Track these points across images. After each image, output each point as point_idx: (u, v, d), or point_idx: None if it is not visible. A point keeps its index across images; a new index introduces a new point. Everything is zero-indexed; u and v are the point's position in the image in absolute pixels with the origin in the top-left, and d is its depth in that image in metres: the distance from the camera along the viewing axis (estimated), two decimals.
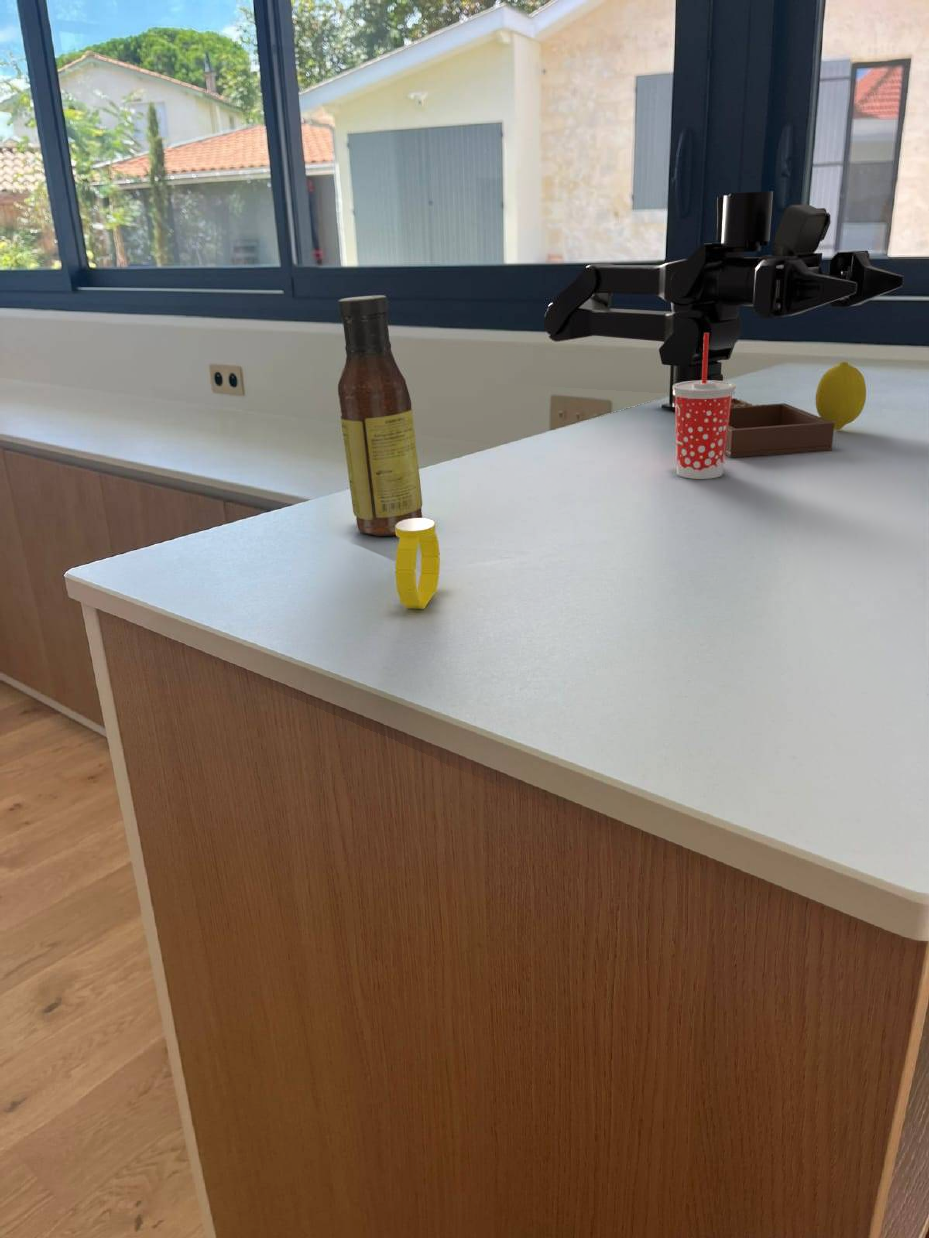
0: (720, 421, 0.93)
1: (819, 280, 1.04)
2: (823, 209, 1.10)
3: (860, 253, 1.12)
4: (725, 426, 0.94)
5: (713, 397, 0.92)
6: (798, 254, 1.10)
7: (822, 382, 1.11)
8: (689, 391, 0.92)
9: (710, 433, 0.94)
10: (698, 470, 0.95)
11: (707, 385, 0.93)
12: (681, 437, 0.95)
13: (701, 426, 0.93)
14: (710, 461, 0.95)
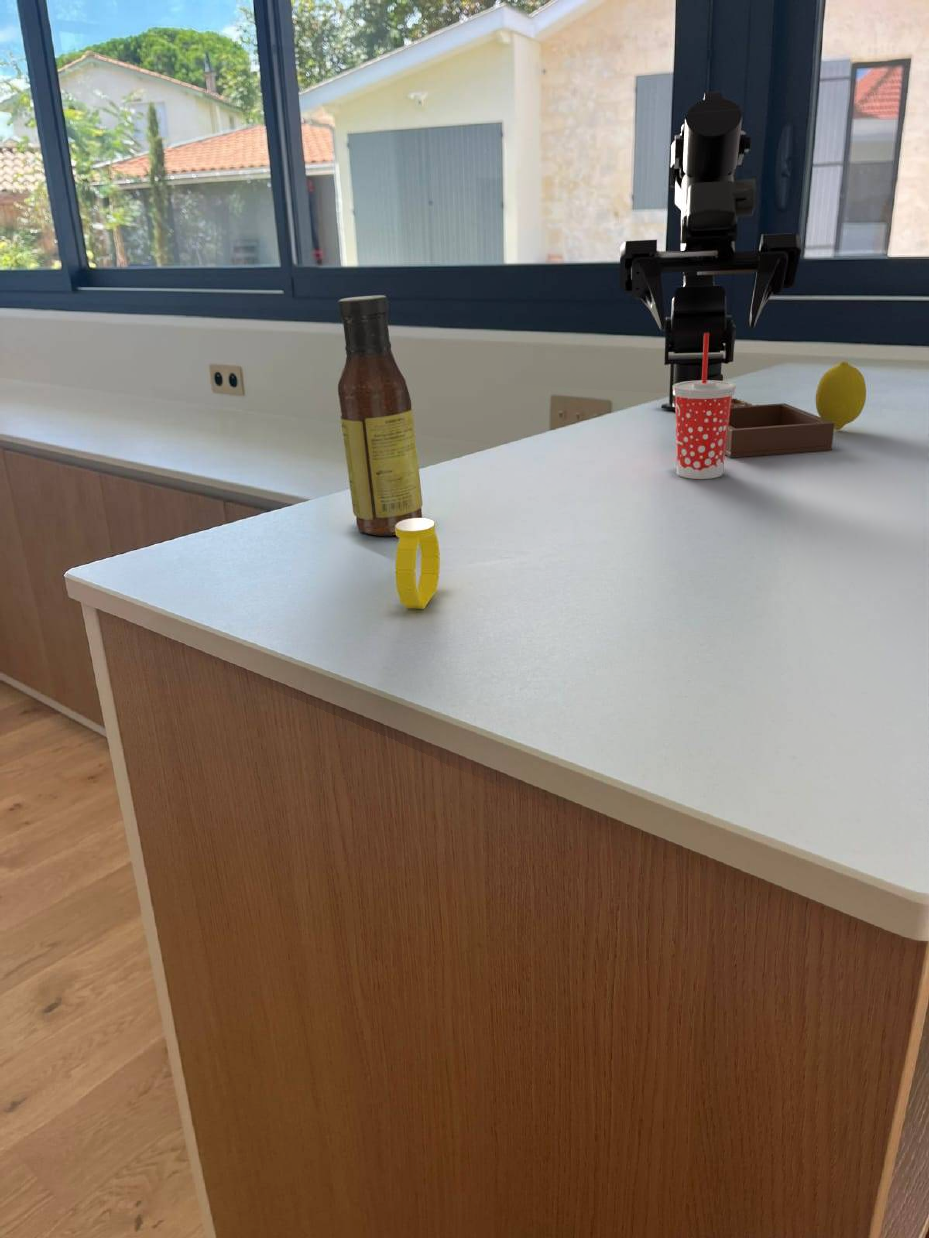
0: (720, 421, 0.93)
1: (651, 295, 1.01)
2: (743, 194, 0.96)
3: (772, 253, 0.98)
4: (725, 426, 0.94)
5: (713, 397, 0.92)
6: (700, 230, 1.01)
7: (822, 382, 1.11)
8: (689, 391, 0.92)
9: (710, 433, 0.94)
10: (698, 470, 0.95)
11: (707, 385, 0.93)
12: (681, 437, 0.95)
13: (701, 426, 0.93)
14: (710, 461, 0.95)
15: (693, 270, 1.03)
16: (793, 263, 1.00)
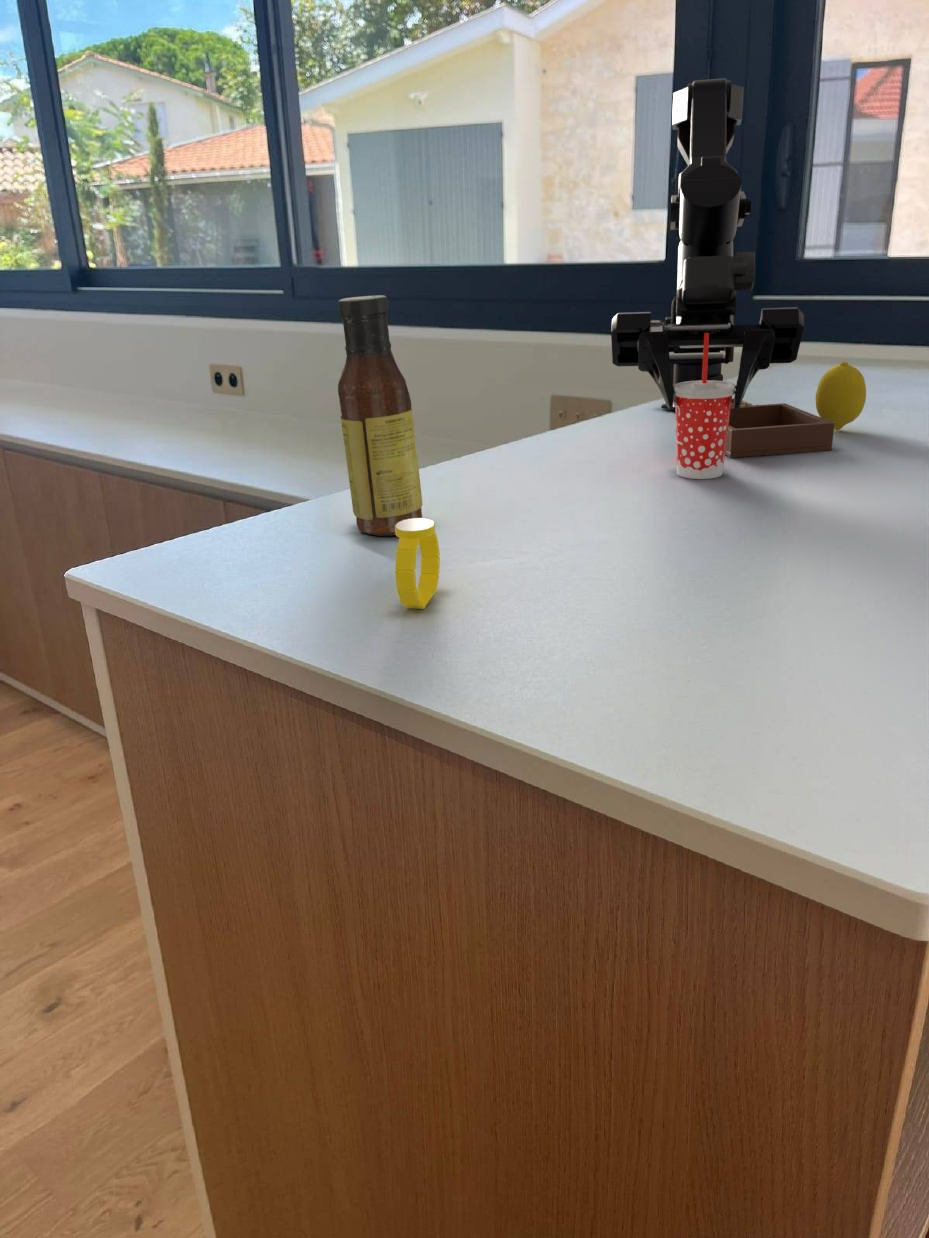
0: (720, 421, 0.93)
1: (659, 371, 0.95)
2: (742, 269, 0.90)
3: (757, 331, 0.93)
4: (725, 426, 0.94)
5: (713, 397, 0.92)
6: (696, 303, 0.95)
7: (822, 382, 1.11)
8: (689, 391, 0.92)
9: (710, 434, 0.94)
10: (698, 470, 0.95)
11: (707, 385, 0.93)
12: (681, 437, 0.95)
13: (701, 426, 0.93)
14: (710, 461, 0.95)
15: (689, 344, 0.97)
16: (796, 339, 0.94)
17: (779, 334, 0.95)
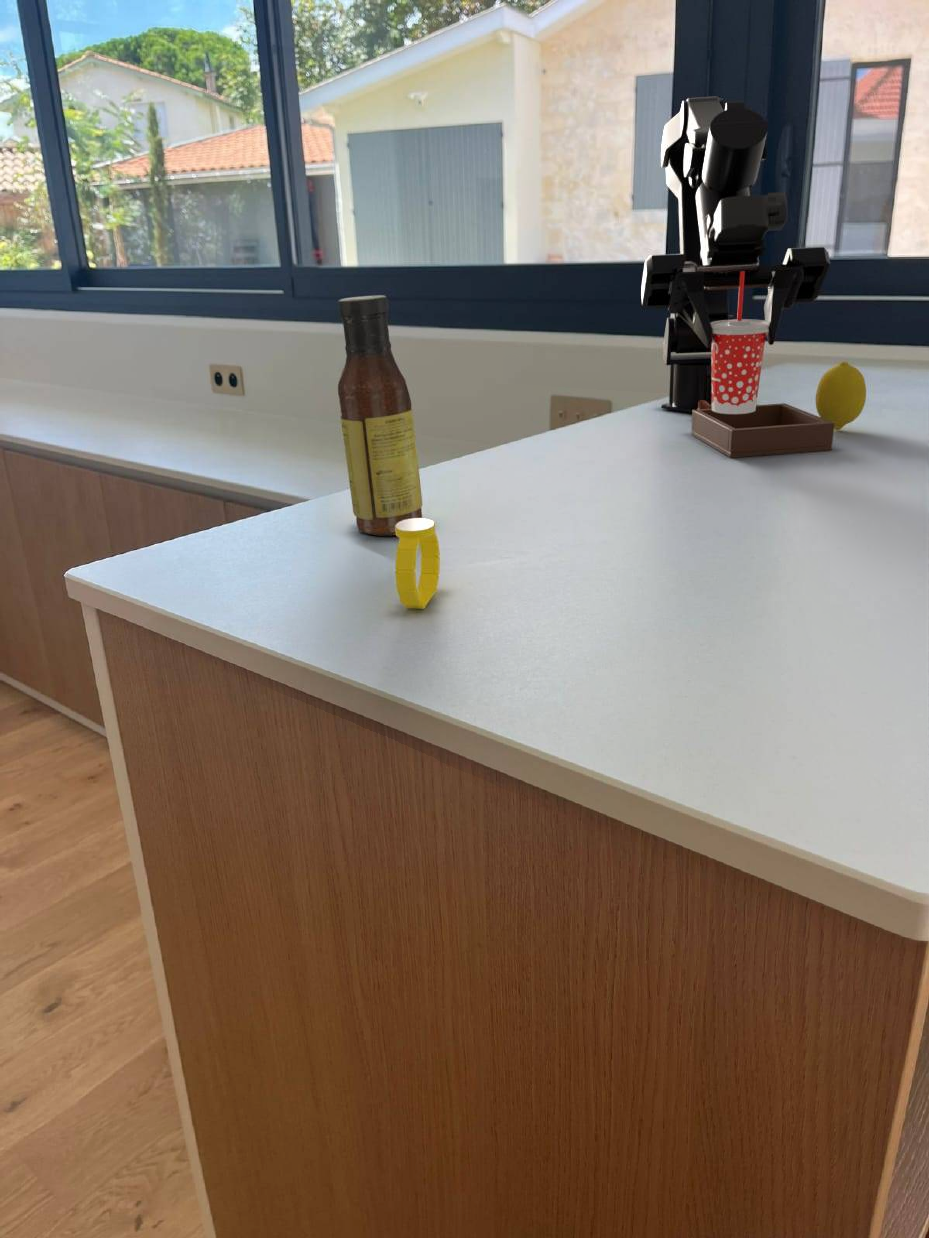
0: (757, 356, 0.97)
1: (695, 311, 0.98)
2: (776, 208, 0.94)
3: (788, 269, 0.97)
4: (761, 362, 0.98)
5: (753, 333, 0.96)
6: (727, 244, 0.98)
7: (822, 382, 1.11)
8: (729, 328, 0.96)
9: (748, 369, 0.97)
10: (736, 406, 0.99)
11: (744, 322, 0.97)
12: (719, 374, 0.99)
13: (740, 362, 0.97)
14: (747, 396, 0.99)
15: (718, 285, 1.01)
16: (820, 277, 0.99)
17: (804, 273, 0.99)
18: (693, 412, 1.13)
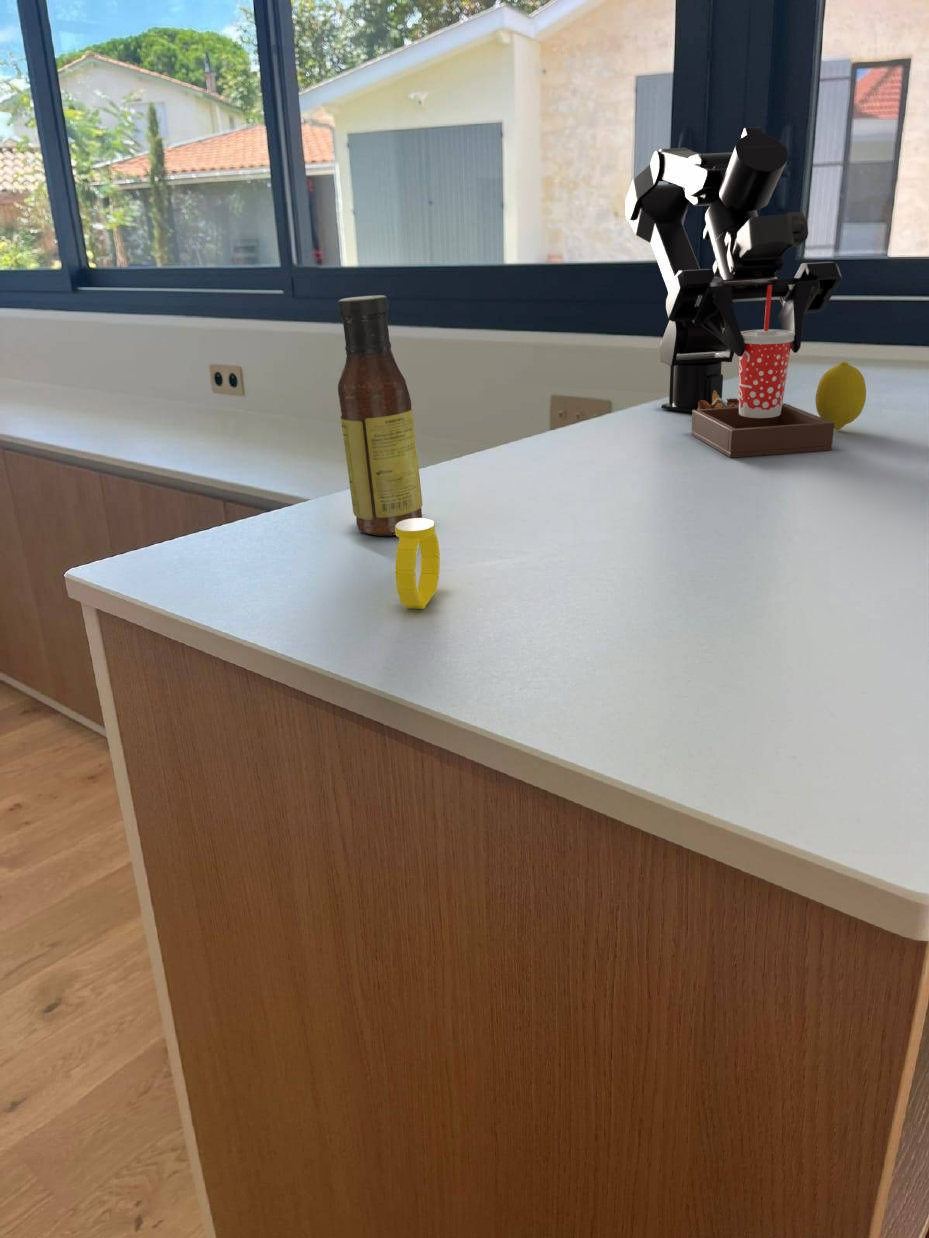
0: (785, 364, 1.05)
1: (725, 322, 1.05)
2: (800, 227, 1.01)
3: (807, 282, 1.05)
4: (787, 368, 1.05)
5: (783, 342, 1.03)
6: (749, 260, 1.05)
7: (822, 382, 1.11)
8: (762, 337, 1.02)
9: (778, 375, 1.04)
10: (766, 410, 1.06)
11: (772, 332, 1.04)
12: (750, 380, 1.05)
13: (771, 369, 1.04)
14: (776, 400, 1.06)
15: (740, 298, 1.07)
16: (831, 290, 1.07)
17: None
18: (693, 412, 1.13)
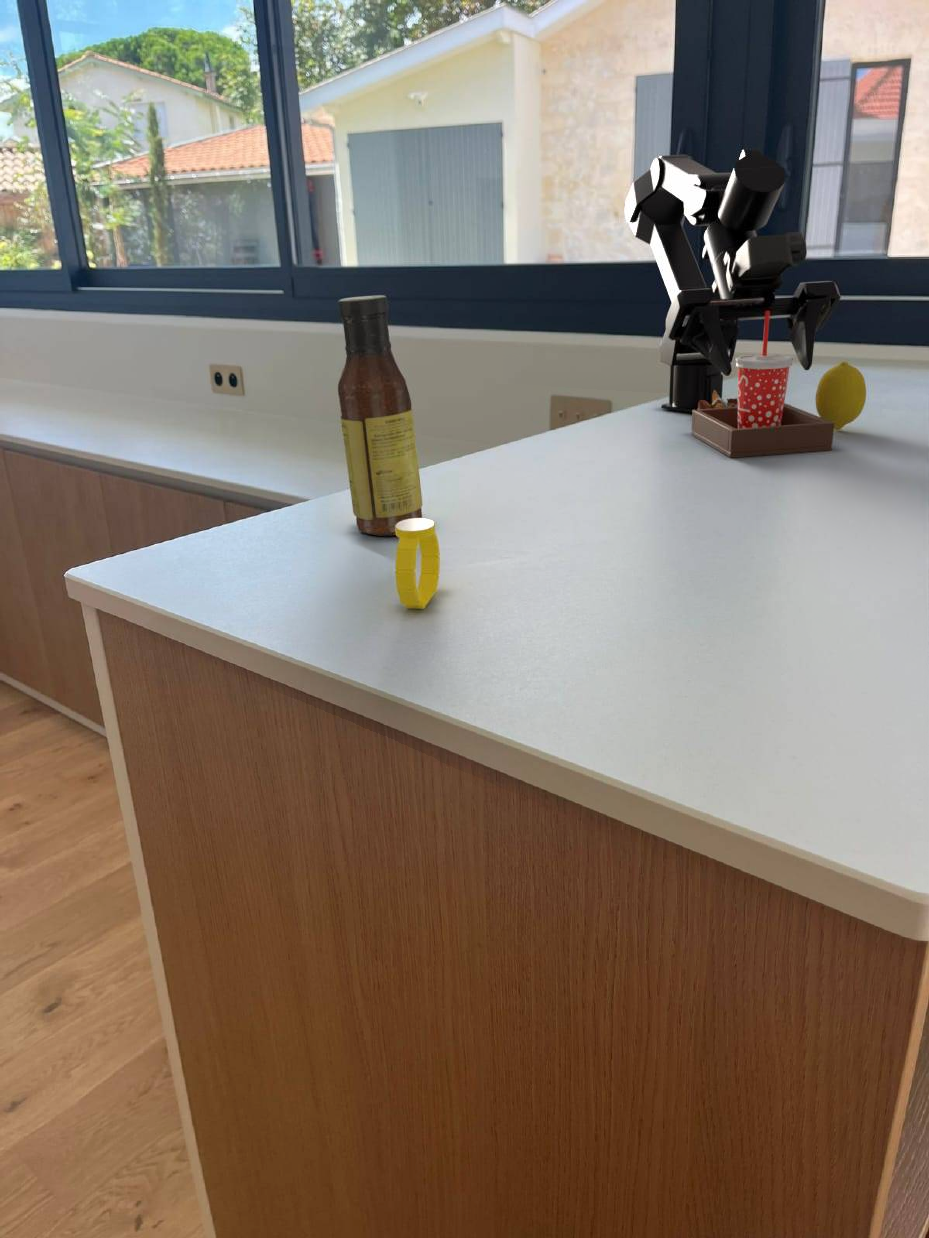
0: (783, 388, 1.06)
1: (712, 342, 1.05)
2: (798, 247, 1.02)
3: (818, 301, 1.05)
4: (785, 393, 1.07)
5: (781, 367, 1.04)
6: (749, 279, 1.06)
7: (822, 382, 1.11)
8: (761, 362, 1.03)
9: (776, 400, 1.06)
10: None
11: (770, 357, 1.05)
12: (749, 405, 1.06)
13: (770, 394, 1.05)
14: (775, 424, 1.07)
15: (739, 316, 1.08)
16: (830, 308, 1.08)
17: None
18: (693, 412, 1.13)
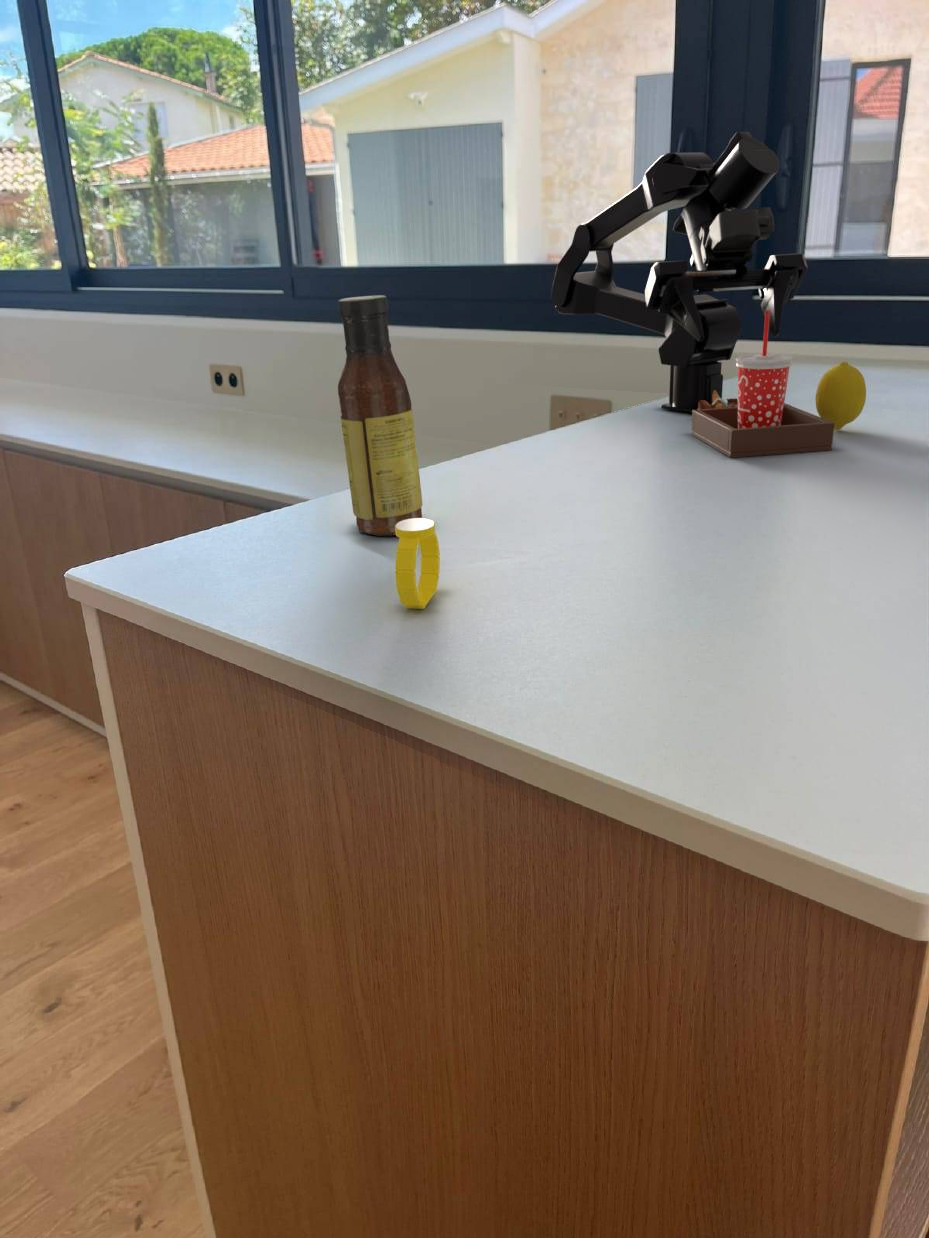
0: (783, 388, 1.06)
1: (686, 310, 1.13)
2: (766, 220, 1.09)
3: (786, 272, 1.13)
4: (785, 393, 1.07)
5: (781, 367, 1.04)
6: (721, 252, 1.13)
7: (822, 382, 1.11)
8: (761, 362, 1.03)
9: (776, 400, 1.06)
10: None
11: (770, 357, 1.05)
12: (749, 405, 1.06)
13: (770, 394, 1.05)
14: (775, 424, 1.07)
15: (713, 287, 1.16)
16: (798, 279, 1.15)
17: None
18: (693, 412, 1.13)
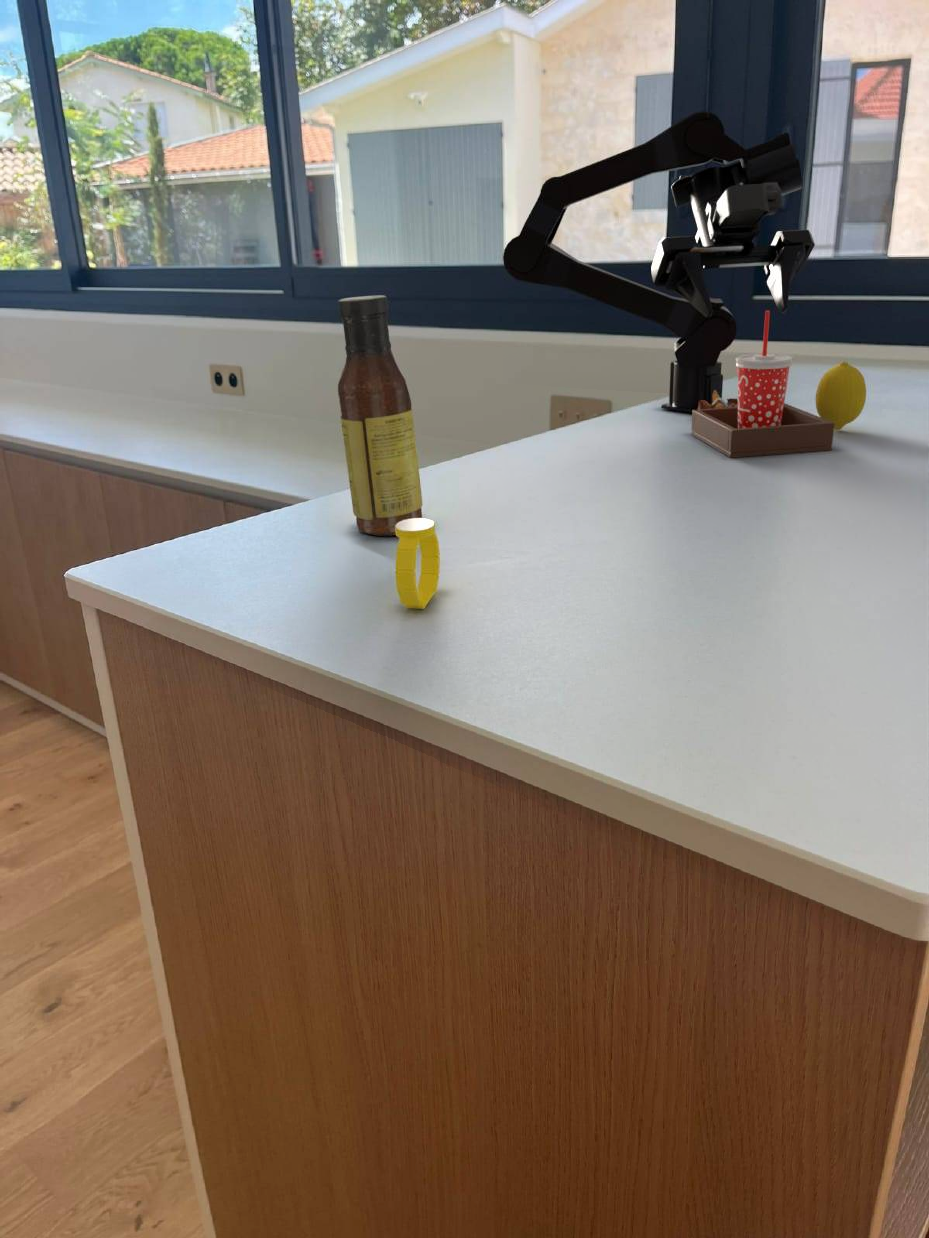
0: (783, 388, 1.06)
1: (694, 286, 1.12)
2: (774, 195, 1.09)
3: (793, 248, 1.13)
4: (785, 393, 1.07)
5: (781, 367, 1.04)
6: (728, 227, 1.13)
7: (822, 382, 1.11)
8: (761, 362, 1.03)
9: (776, 400, 1.06)
10: None
11: (770, 357, 1.05)
12: (749, 405, 1.06)
13: (770, 394, 1.05)
14: (775, 424, 1.07)
15: (720, 263, 1.15)
16: (805, 256, 1.15)
17: None
18: (693, 412, 1.13)
